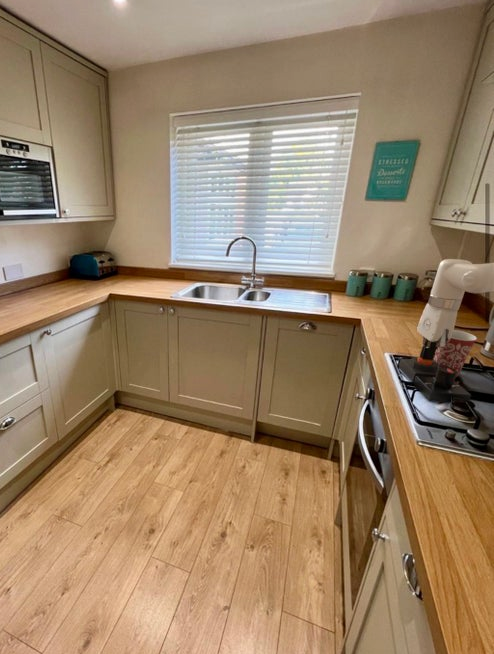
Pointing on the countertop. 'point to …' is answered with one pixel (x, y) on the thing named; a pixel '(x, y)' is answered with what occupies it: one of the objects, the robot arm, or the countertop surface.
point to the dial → (445, 377)
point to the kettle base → (417, 368)
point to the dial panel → (439, 390)
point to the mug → (455, 350)
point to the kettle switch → (424, 361)
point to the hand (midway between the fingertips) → (426, 358)
